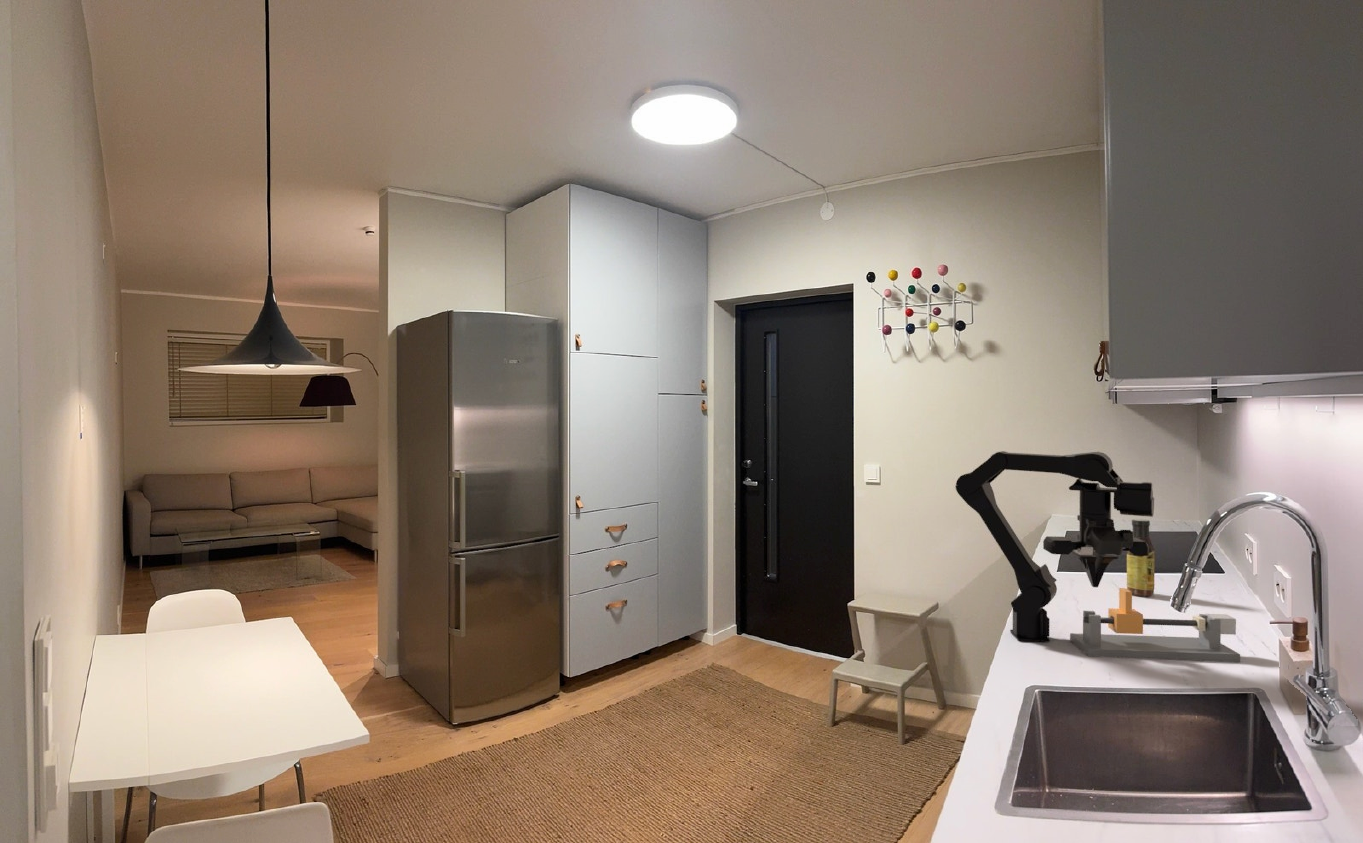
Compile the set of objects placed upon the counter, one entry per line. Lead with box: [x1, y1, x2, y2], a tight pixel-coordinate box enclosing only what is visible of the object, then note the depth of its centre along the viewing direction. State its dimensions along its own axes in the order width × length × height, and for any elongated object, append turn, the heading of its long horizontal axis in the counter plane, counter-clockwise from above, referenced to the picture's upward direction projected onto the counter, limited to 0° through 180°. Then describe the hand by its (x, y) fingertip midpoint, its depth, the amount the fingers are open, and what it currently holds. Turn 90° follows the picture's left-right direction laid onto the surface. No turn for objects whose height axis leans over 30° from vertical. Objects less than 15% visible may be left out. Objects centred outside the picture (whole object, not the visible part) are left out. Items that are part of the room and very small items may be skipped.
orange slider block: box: [1107, 587, 1144, 635], centre depth 152 cm, size 5×4×8 cm
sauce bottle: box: [1126, 518, 1156, 597], centre depth 194 cm, size 6×6×20 cm
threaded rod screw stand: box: [1069, 610, 1241, 663], centre depth 151 cm, size 29×10×8 cm, turn 81°
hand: (1094, 587), depth 153 cm, fingers closed
